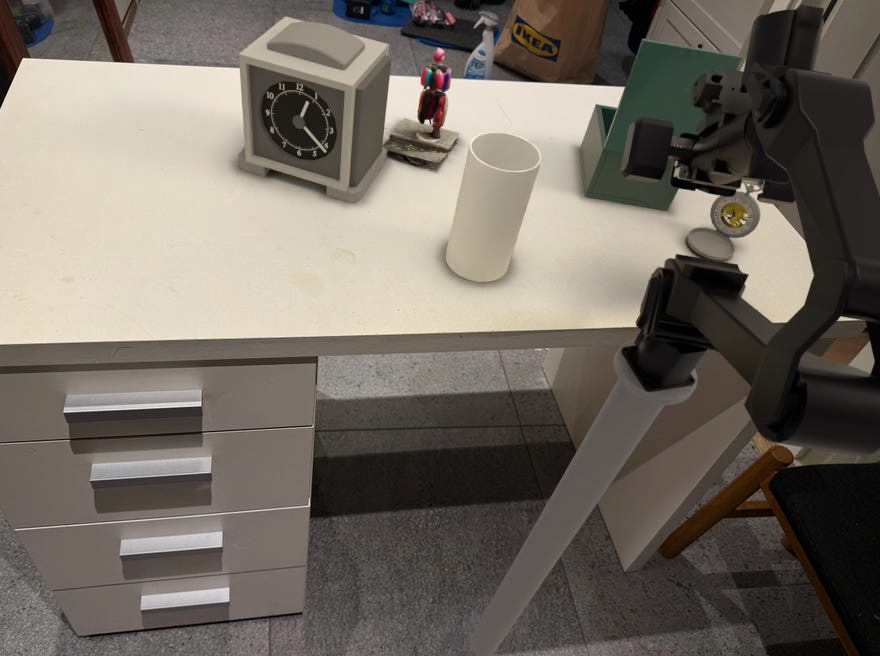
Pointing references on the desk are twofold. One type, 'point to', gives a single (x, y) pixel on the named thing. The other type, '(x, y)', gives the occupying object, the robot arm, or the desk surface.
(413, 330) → the desk surface
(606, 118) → the panel
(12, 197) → the desk surface
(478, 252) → the cup
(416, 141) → the statue
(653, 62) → the lid
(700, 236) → the pocket watch
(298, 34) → the alarm clock
